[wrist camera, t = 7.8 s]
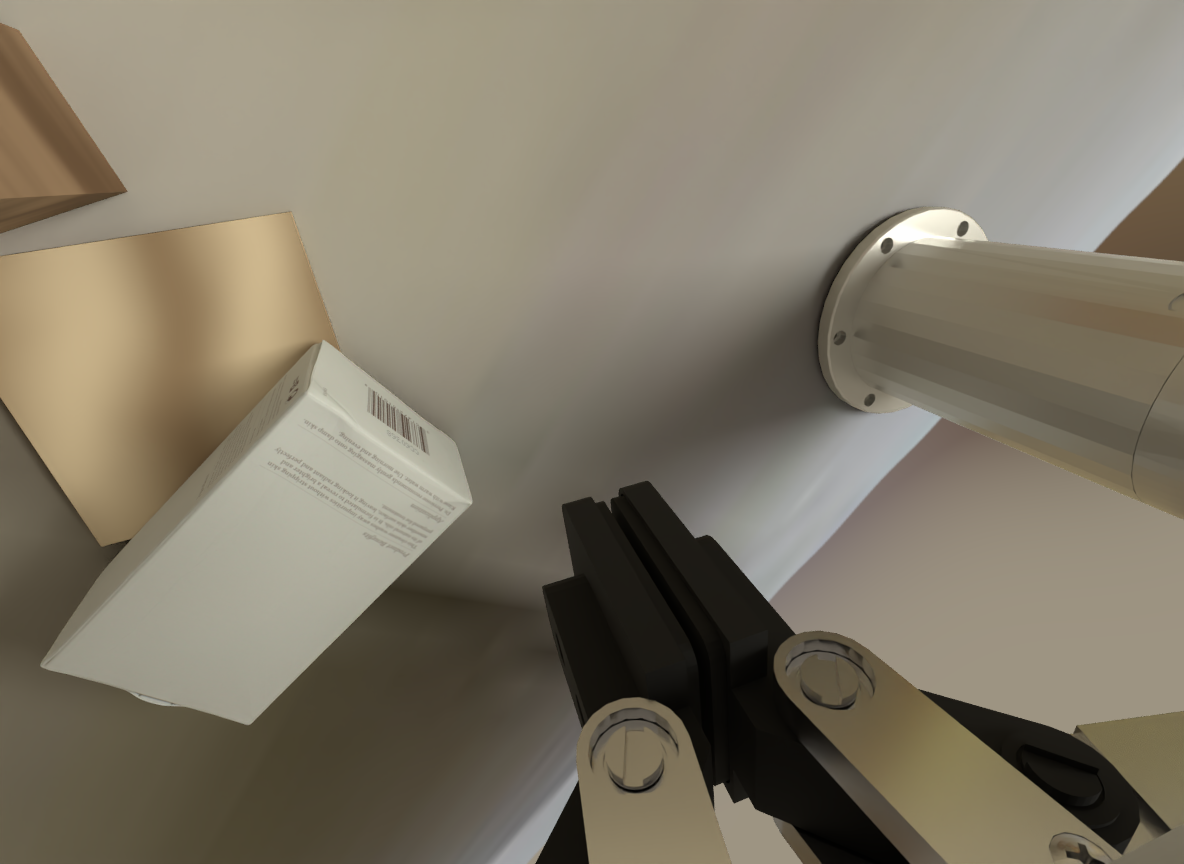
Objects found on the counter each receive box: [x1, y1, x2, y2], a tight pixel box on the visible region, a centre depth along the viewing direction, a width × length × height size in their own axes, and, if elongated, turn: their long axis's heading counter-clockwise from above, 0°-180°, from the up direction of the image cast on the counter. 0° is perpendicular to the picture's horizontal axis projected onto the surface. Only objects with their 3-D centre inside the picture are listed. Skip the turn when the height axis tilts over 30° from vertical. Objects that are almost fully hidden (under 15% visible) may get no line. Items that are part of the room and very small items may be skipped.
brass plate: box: [0, 212, 341, 547], centre depth 23 cm, size 12×12×1 cm
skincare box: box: [40, 340, 473, 725], centre depth 24 cm, size 8×6×15 cm
